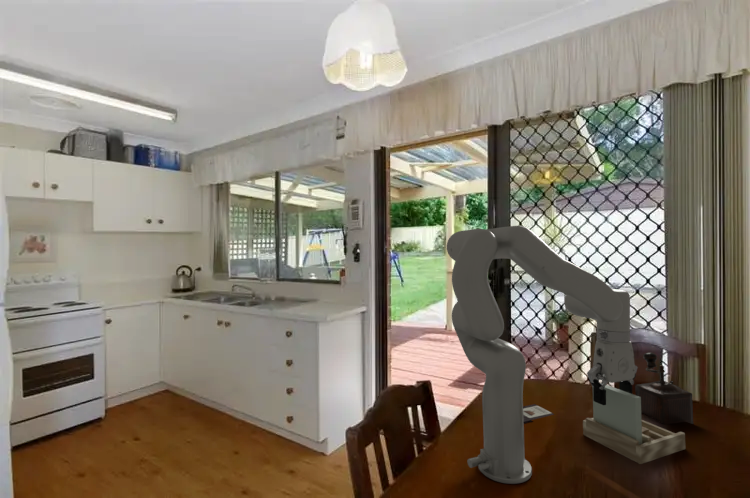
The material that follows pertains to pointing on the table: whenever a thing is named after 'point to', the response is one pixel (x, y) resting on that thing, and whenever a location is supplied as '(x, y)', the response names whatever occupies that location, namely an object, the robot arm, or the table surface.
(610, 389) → the sheet
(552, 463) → the table surface
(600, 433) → the rack
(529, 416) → the chocolate bar
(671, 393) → the dark brown coffee grinder
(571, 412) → the table surface
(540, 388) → the table surface
